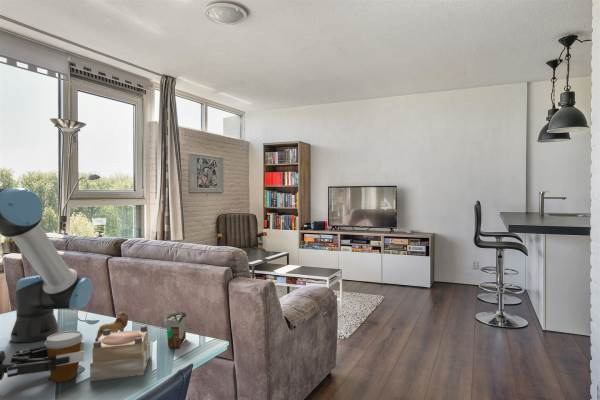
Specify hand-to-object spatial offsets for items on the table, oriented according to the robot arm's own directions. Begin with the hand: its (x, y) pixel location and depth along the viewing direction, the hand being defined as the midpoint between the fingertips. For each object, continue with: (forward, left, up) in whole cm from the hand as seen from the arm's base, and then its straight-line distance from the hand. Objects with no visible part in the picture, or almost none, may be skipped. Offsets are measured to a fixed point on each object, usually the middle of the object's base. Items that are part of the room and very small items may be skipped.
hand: (83, 350), depth 110 cm
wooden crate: (-1, +10, -7) cm, 12 cm away
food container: (-17, +24, -7) cm, 30 cm away
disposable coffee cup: (+1, -5, -7) cm, 8 cm away
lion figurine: (-28, +2, -7) cm, 29 cm away
